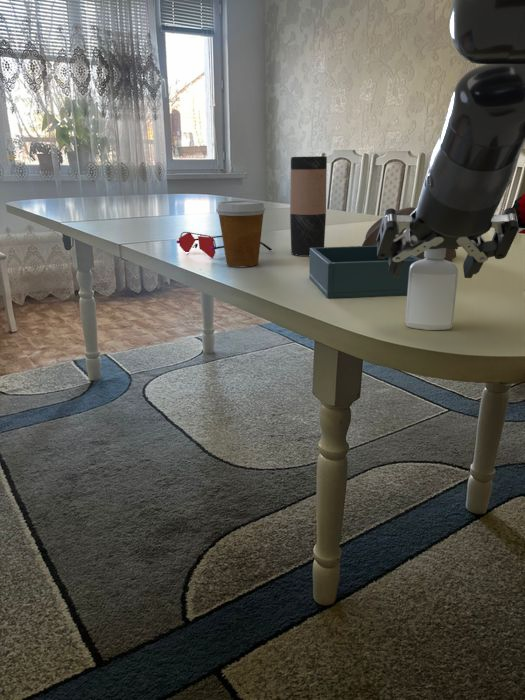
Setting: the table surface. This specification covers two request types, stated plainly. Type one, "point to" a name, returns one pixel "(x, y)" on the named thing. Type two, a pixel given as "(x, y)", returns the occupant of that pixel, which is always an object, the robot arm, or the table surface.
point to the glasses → (201, 243)
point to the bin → (356, 272)
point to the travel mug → (307, 203)
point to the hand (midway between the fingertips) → (430, 271)
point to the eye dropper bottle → (431, 292)
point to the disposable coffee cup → (241, 231)
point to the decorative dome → (374, 229)
